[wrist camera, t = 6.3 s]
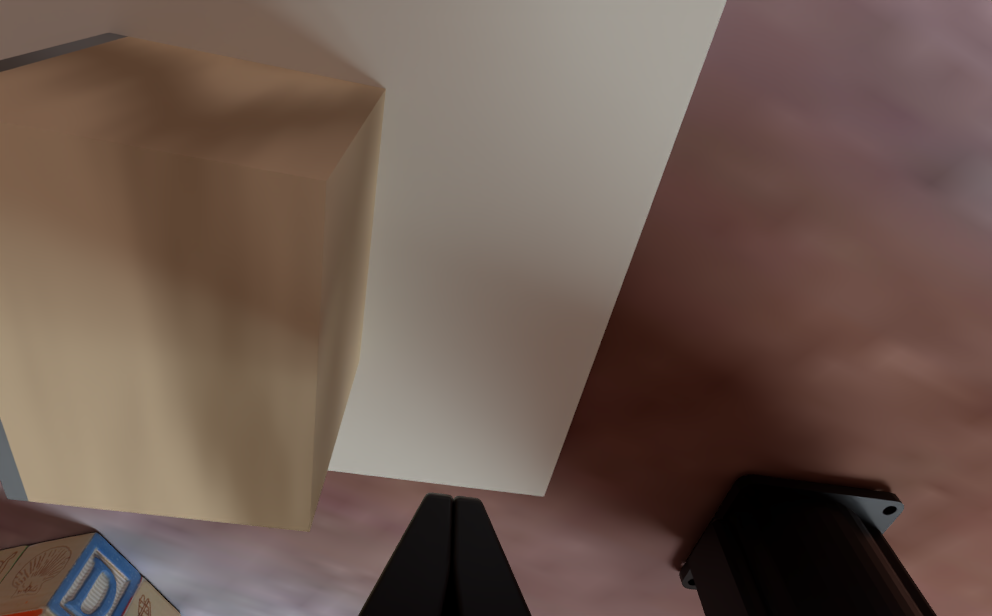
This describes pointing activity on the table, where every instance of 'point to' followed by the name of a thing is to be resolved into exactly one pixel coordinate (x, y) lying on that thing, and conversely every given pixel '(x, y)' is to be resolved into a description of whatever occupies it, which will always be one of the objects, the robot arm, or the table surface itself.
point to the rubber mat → (466, 196)
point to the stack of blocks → (75, 581)
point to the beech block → (179, 278)
